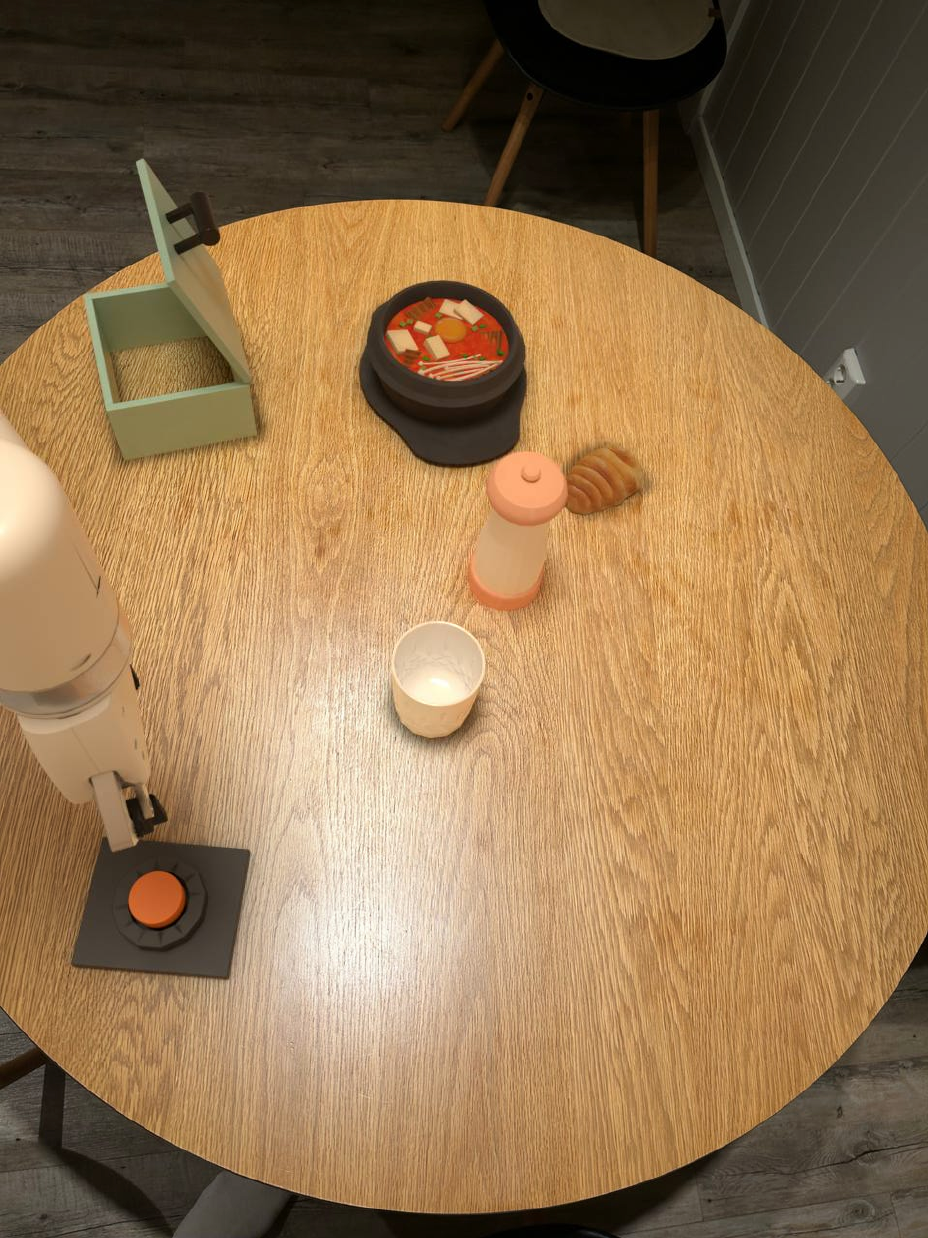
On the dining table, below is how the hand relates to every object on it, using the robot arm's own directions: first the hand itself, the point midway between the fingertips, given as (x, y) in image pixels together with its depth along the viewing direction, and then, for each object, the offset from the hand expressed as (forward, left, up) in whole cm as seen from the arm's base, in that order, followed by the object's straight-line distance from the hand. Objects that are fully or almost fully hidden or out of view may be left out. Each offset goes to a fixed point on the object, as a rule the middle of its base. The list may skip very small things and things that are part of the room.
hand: (129, 755), depth 62 cm
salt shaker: (+26, +28, -20) cm, 43 cm away
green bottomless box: (-10, +47, -20) cm, 52 cm away
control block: (0, -6, -20) cm, 21 cm away
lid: (-6, +48, -4) cm, 49 cm away
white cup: (+20, +14, -20) cm, 32 cm away
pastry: (+36, +41, -20) cm, 58 cm away
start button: (0, -6, -17) cm, 18 cm away
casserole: (+18, +53, -20) cm, 59 cm away
